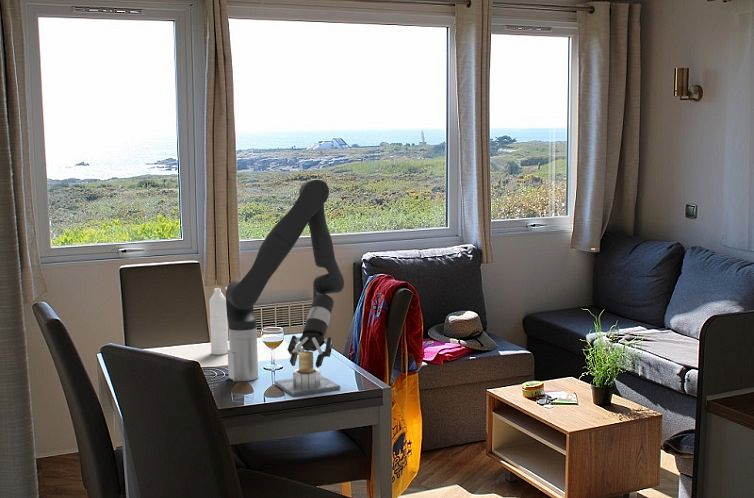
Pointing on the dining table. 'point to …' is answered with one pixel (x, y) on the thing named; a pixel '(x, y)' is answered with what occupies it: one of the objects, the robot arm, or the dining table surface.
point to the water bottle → (218, 323)
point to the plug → (305, 362)
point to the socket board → (306, 383)
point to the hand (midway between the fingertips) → (304, 365)
